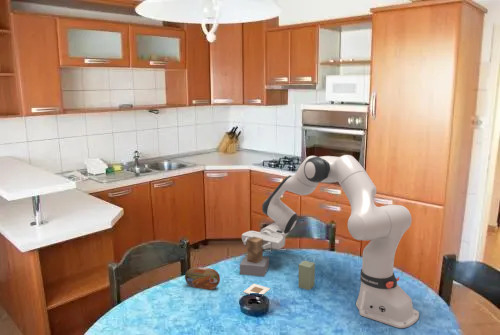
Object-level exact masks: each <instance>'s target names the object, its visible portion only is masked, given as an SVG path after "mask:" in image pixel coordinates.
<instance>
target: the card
mask: <svg viewBox="0 0 500 335" xmlns="http://www.w3.org/2000/svg"><path fill="white" fill-rule="evenodd" d="M270 290H271V288H270V287H266V286H263V285H261V284H257V283H252V284H251V285H250V286H248V287H247V288H246V289H245V290H244V291H243V293H244V294H247V295H250V293H259V294H264V295H265V294H266V293H267V292H269V291H270Z"/></svg>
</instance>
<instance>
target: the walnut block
mask: <svg viewBox="0 0 500 335" xmlns="http://www.w3.org/2000/svg"><path fill="white" fill-rule="evenodd" d="M262 245H263V239H262V238H258V237H252V238H250V239H248V240H247V245H246V246H247V252H246V253H247V254H246V255H247V261H250V262H253V263H258V262H260V261H261V260H263V256H264V254H263V252H264V249H261V248H262V247H261V246H262Z"/></svg>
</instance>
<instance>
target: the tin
mask: <svg viewBox="0 0 500 335" xmlns="http://www.w3.org/2000/svg"><path fill="white" fill-rule="evenodd" d="M218 272H219V271H217V270H216V269H214V268H208V267H201V266H200V267H198V266H192V267H191V268H189V269H188V270H186V272H185V275H184V280H185V282H186V284H187V285H188V286H189V287H191V288H195V289H202V290H208V291H209V290H211V291H213V290H215V289H216V288H217V287H218V285H219V284H220V282H221V276H220V274H219V273H218Z"/></svg>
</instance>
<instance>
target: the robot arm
mask: <svg viewBox="0 0 500 335" xmlns="http://www.w3.org/2000/svg"><path fill="white" fill-rule="evenodd" d="M320 183H329V184H330V183H339V185H340V187H341V189H342V191H343V192H344V194H345V196H346V198H347V200H348V202H349V205H350V210H351V213H350V216H349V217H348V220H347V229H348V232H349V234H350V235H351V237H353V239H355V240H357V241H369V242H368V244H367V245H366V246H364V248H363V250H362V251H363V252H362V263H361V269H360V274H359V275H360V277H359V278H360V286H359V292H358V296H357V300H356V303H355V306H356V308H357V309H358V312H359V315H360V316H362V317H365V318H368V319H370V320H374V321H377V322H380V323H382V324H386V325H388V326H392V327H395V328H397V329H404V328H405V329H406V328H408V327H411V326H413V325H414V324H415V323H417V321H418V320H419V318H420V312H419V311H418V310H416V309H415V308H414V306H413V301H412V298H411V297H410V296H409V295H408V294H407V293H406V291H404V290H403V288H401V287H400V285H399V284H398V282H399V281H400V276H398V277H396V276H395V272H394V265H395V264H394V263H395V255H396V251H397V249H398V245H399V243H400V241H401V239H402V237H403V236H404V234H405V233H406V232H407V230H408V229H410V227H411V225H412V222H413V221H412V220H413V219H412V215H411V212H410V210H409V209H408V208H407V207H405V206H404V205H401V204H386V205H382V206H377V205H376V203H375V202H374V198H375V197H376V195H377V186H376V185H375V184H374V182H373V181H372V179H371V177H370V176H369V174H368V173H367V171H366V169H365V168H364V167H363V166H362V165H361V163H360V162H359V160H357V159H356V158H355V157H354V156H353V155H351V154H344V155H340V156H332V155H324V156H316V155H309V156H307V157H306V158H305V159H304V160H303V162H301V164H300V165H299V167H298V168H297V169H296V172H295V173H294V175H288V176H286V177H285V178H284V179H283V180H282V181H281V182H280V183H279V184H278V185H277V187H276V188H275V189H274V190H273V192H271V194H270V195H269V196H268V197H267V198H266V199H265V200H264V201H263V203H262V205H261V209H262V210H261V211H262V213H263V214H264V215H266V216H267V217H269V218H270V219H271V220H272V221H274V222H272V223H271V224H269V225H267V226H265V227H263V228H262V229H260V231H258V230H257V231H256V230H249V231H248V230H247V231H246V232H243V233H242V234H241V240H242V242H243V245H245V246H247V240H248V239H250V238H252V237H258V238H262V239H263V245H262V246H261V247H262V248H261V249H263V250H266V249H273V250H281V249H282V248H284V247H285V245H286V236H287V235H288V234H289V233H290V232H292V230H294V228H295V227H296V226H297V224H298V213H296V211H295V210H293V209H292V208H290V207H289V206H288V205H287V204H286V203H284V202H283V201H282V200H281V197H282V196H283V195H284V194H285V192H290V193H293V194H296V195H299V196H308V195H310V194H312V193H313V192H314V191H315V190H316V188H317V187H318V185H319V184H320Z"/></svg>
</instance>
